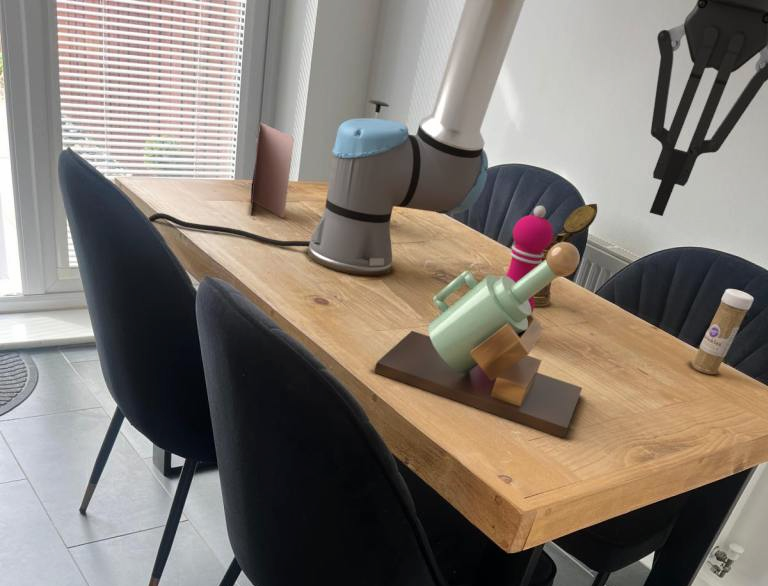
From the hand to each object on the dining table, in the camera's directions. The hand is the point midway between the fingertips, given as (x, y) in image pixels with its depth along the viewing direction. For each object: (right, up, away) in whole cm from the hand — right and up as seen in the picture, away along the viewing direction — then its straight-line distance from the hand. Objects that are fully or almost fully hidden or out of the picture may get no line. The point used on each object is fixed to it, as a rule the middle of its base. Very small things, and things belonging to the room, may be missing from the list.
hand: (656, 212), depth 86 cm
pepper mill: (-12, -5, +38) cm, 40 cm away
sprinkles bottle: (+23, -10, +43) cm, 50 cm away
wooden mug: (-3, +6, +57) cm, 57 cm away
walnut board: (-18, -17, +18) cm, 30 cm away
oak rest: (-15, -17, +16) cm, 28 cm away
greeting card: (-55, +27, +69) cm, 92 cm away
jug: (-19, -15, +17) cm, 29 cm away
